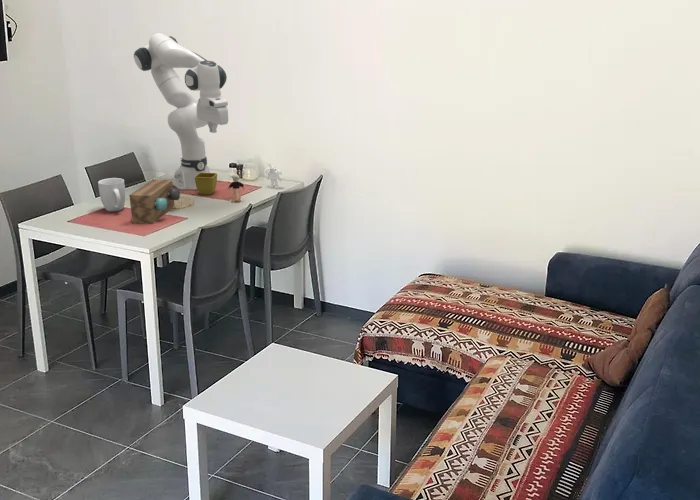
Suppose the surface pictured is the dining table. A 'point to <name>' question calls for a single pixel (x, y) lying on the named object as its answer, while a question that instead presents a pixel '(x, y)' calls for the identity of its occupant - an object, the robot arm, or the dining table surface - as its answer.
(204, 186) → the flower pot
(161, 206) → the knob teal
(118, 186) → the mug
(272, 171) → the flower shoulder figurine
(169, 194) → the knob black
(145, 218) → the walnut mount
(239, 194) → the grandmother figurine
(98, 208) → the dining table surface
